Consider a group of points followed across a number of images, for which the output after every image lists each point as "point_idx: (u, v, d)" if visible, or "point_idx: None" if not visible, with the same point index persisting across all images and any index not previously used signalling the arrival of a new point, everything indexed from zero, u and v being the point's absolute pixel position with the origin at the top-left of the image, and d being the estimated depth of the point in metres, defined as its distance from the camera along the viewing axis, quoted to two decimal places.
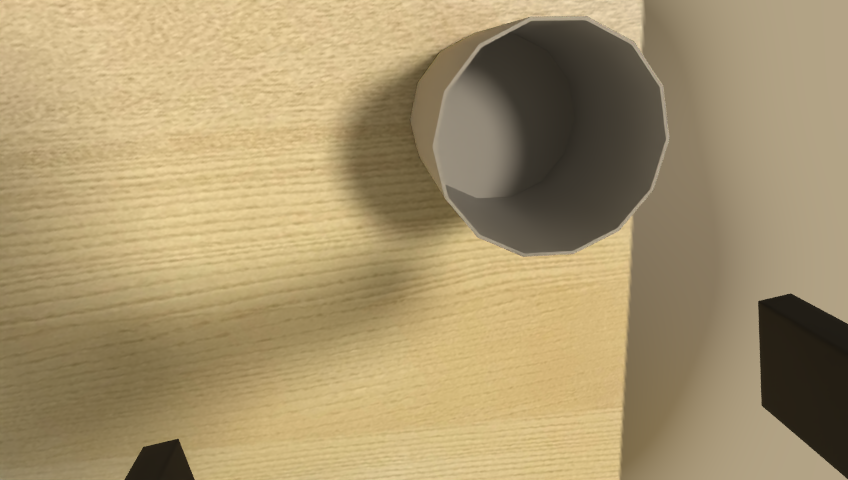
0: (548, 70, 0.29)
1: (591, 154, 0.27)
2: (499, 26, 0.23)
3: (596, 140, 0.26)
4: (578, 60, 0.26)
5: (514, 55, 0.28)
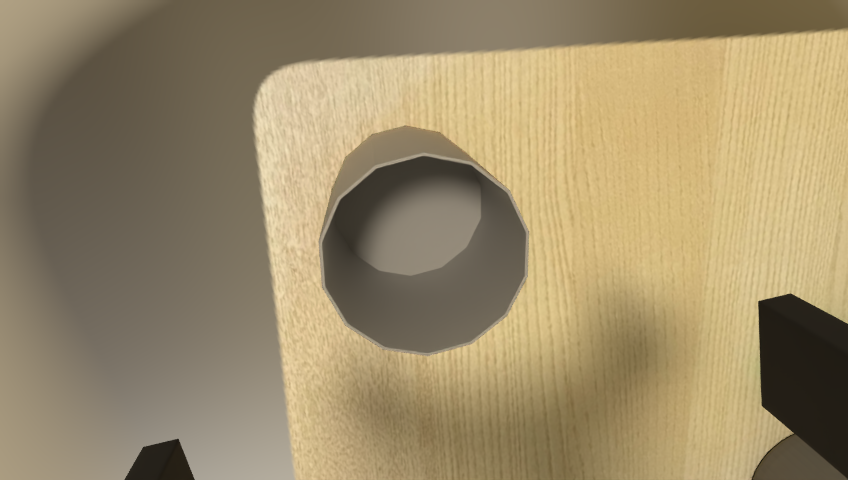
0: None
1: None
2: (329, 257, 0.27)
3: None
4: None
5: (352, 191, 0.31)
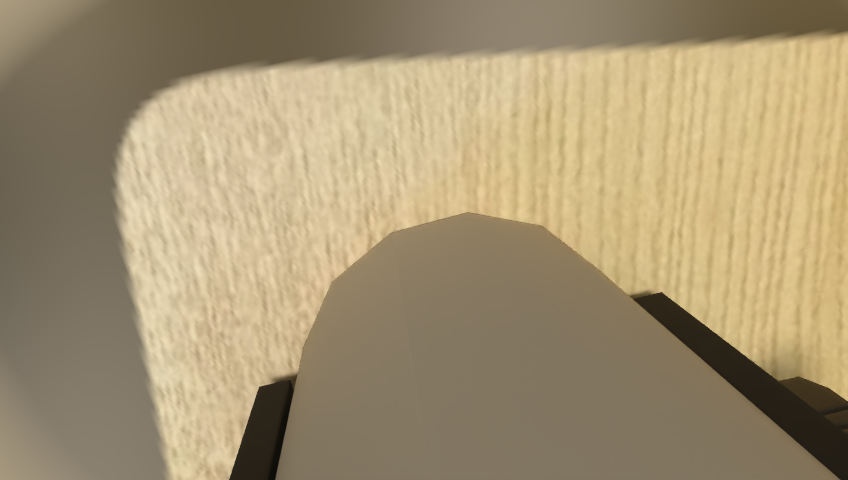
0: None
1: None
2: None
3: None
4: None
5: None
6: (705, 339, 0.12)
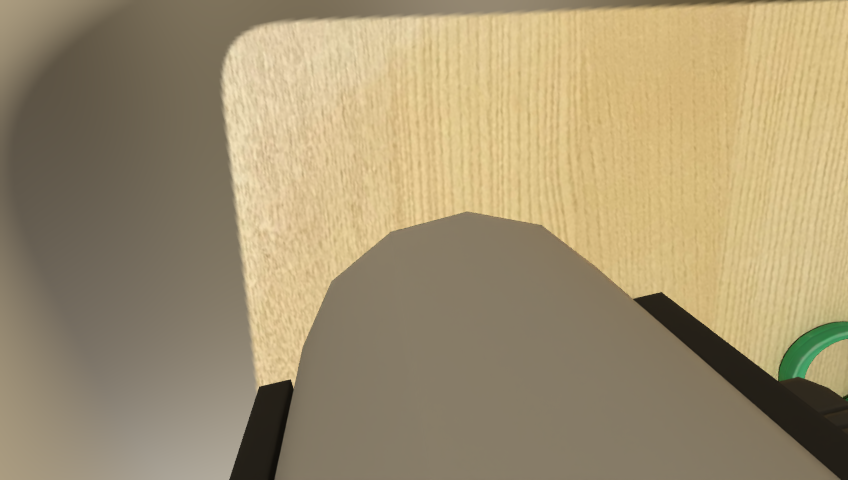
0: None
1: None
2: None
3: None
4: None
5: None
6: (705, 339, 0.12)
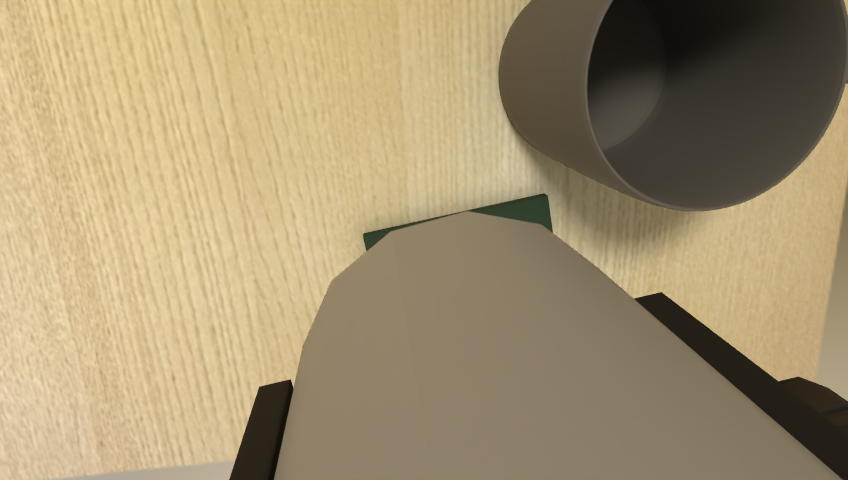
0: None
1: None
2: None
3: None
4: None
5: None
6: (705, 339, 0.12)
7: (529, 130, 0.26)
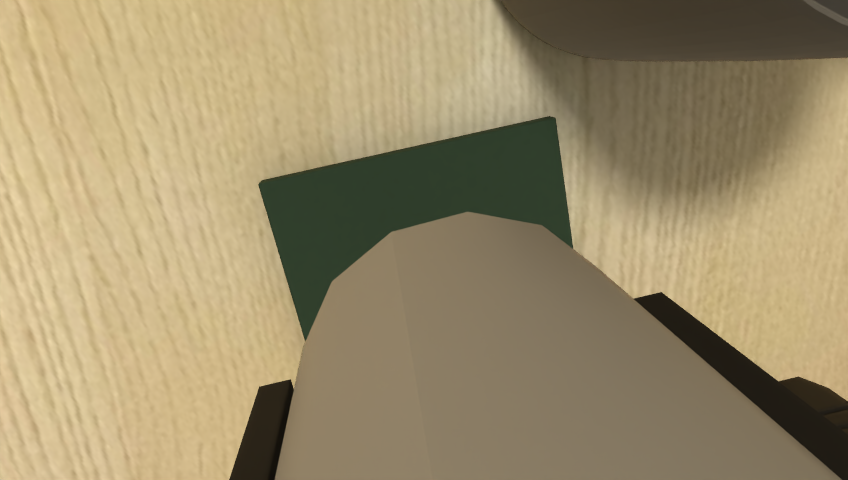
0: None
1: None
2: None
3: None
4: None
5: None
6: (705, 339, 0.12)
7: None
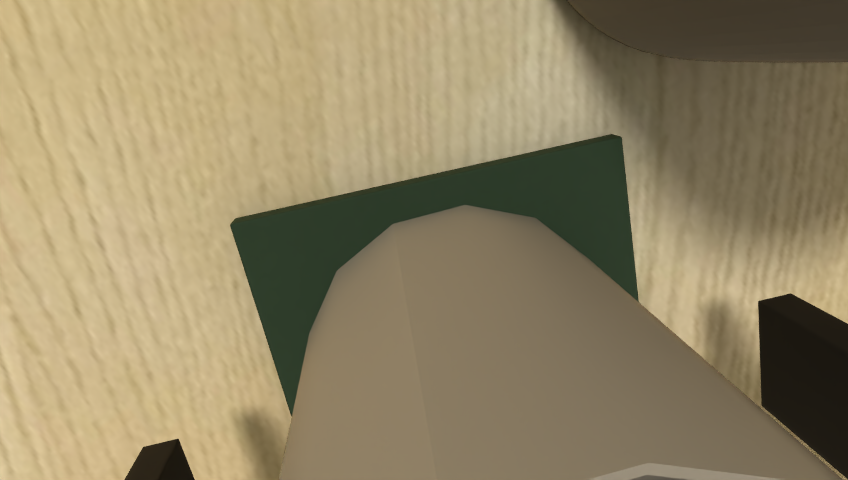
0: None
1: None
2: None
3: None
4: None
5: None
6: None
7: None
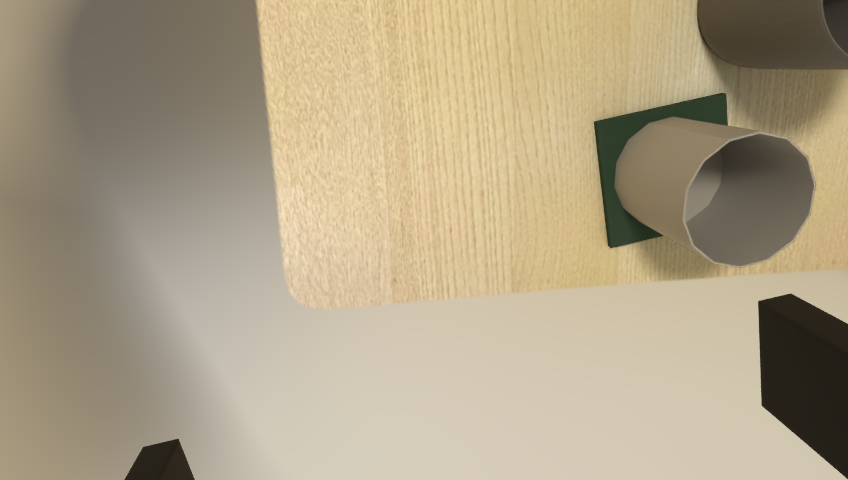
0: None
1: None
2: (651, 206, 0.39)
3: None
4: None
5: None
6: None
7: (736, 36, 0.38)
